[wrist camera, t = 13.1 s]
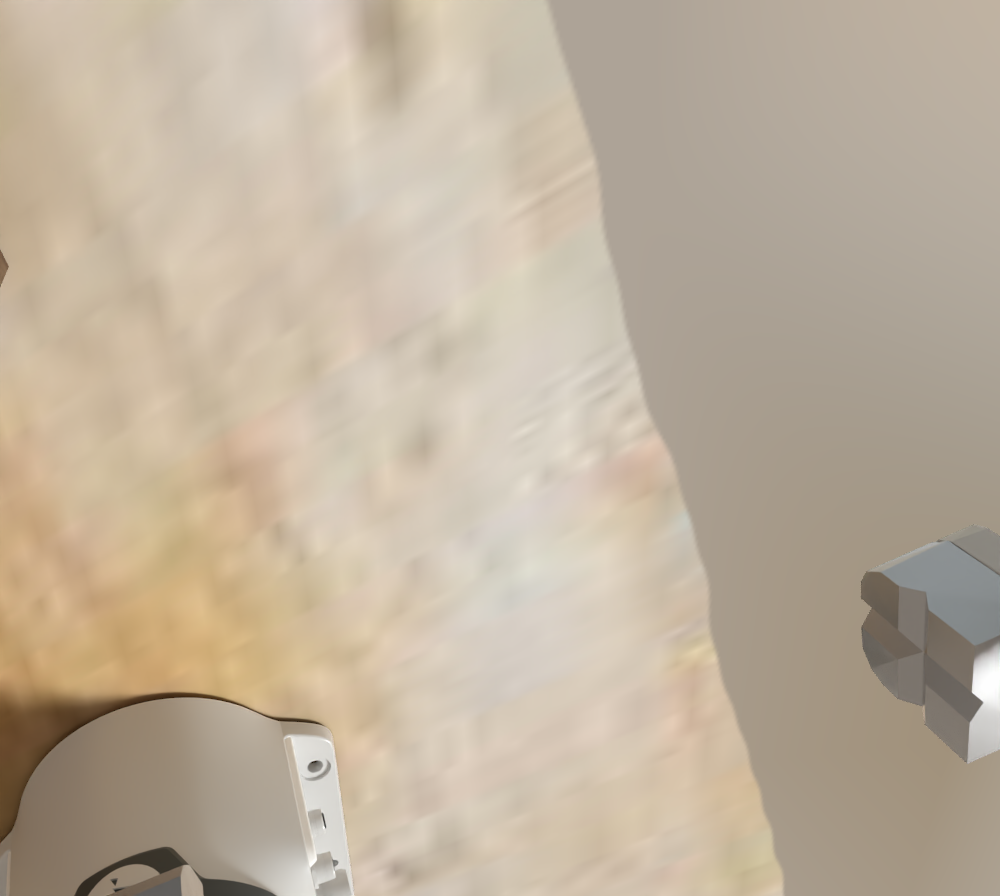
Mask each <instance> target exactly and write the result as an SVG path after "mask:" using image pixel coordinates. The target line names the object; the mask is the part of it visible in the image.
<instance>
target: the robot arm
mask: <svg viewBox="0 0 1000 896" xmlns="http://www.w3.org/2000/svg"><path fill="white" fill-rule="evenodd" d="M861 599H863V600H864V601H865V602H866V603H867V604H868V605H870V606H871V607H872V609H871V610H870V612H869V614H868V616H867V618H866V620H865V621H864V623H863V625H862V642H863V650H864V652H865V654H866V657H867V659H868V661H869V664H870V666H871V668H872V670H873V672H874V673H875V674H876V676H877V677H878V678H879V680H880V681H881V683H882V684H883V685H884V686H885V687H886V688H887V689H888V690H889V691H890V692H891V693H892V694H893V695H894V696H895V697H896V698H897V699H900V700H903V701H906V702H910V703H913V704H916V705H920V706H922V707H923V715H924V722H925V725H926V726H927V727H928V728H929V729H930V730H931V731H933V732H934V733H935V734H936V735H937V736H938V737H939V738H940V739H941V740H942V741H943V742H944V743H945V744H946V745H948V746H949V747H950V748H951V749H952V750H953V751H954V752H955V753H956V754H957V755H958V756H959V757H960V758H962V759H963V760H964V761H965V762H966V763H967V764H968V763H970V762H972V761H975V760H977V759H979V758H981V757H983V756H986V755H988V754H990V753H992V752H995V751H997V750H999V749H1000V536H999V535H998V534H996V533H995V532H993V531H991V530H990V529H988V528H986V527H983V526H978V525H971V526H969V527H966V528H964V529H962V530H960V531H957V532H955V533H953V534H950V535H948V536H946V537H944V538H941V539H939V540H937V541H936V542H932V543H929V544H927V545H925V546H922V547H920V548H918V549H916V550H913V551H911V552H909V553H907V554H904V555H902V556H900V557H898V558H896V559H893V560H891V561H889V562H887V563H884V564H882V565H880V566H877V567H875V568H873V569H871V570H868V571H867V572H866V573H865V575H864V577H863V579H862V581H861ZM316 760H317V762H315V763H311V762H312V761H316ZM0 896H354V887H353V879H352V872H351V864H350V857H349V850H348V843H347V835H346V828H345V821H344V814H343V806H342V799H341V792H340V785H339V777H338V770H337V763H336V756H335V748H334V741H333V736H332V733H331V731H330V730H329V729H328V728H326V727H325V726H322V725H319V724H314V723H305V722H283V721H277V720H273V719H270V718H267V717H265V716H263V715H260V714H258V713H256V712H254V711H251V710H249V709H247V708H244V707H242V706H239V705H236V704H232V703H229V702H224V701H220V700H213V699H206V698H168V699H160V700H153V701H148V702H143V703H139V704H135V705H131V706H128V707H125V708H122V709H119V710H116V711H113V712H111V713H108V714H106V715H104V716H101V717H99V718H97V719H95V720H93V721H91V722H90V723H88V724H86V725H84V726H82V727H81V728H79V729H78V730H76V731H75V732H73V733H72V734H70V735H69V736H68V737H66V738H65V739H64V740H62V741H61V742H60V743H59V744H58V745H57V746H55V747H54V748H53V749H52V750H51V751H50V752H49V753H48V754H47V755H46V757H45V758H44V759H43V760H42V761H41V762H40V764H39V765H38V766H37V768H36V769H35V771H34V772H33V774H32V775H31V777H30V779H29V781H28V783H27V785H26V787H25V789H24V792H23V795H22V798H21V802H20V807H19V811H18V815H17V819H16V822H15V825H14V827H13V829H12V831H11V832H10V833H9V834H8V835H7V836H6V838H5V839H4V840H3V841H2V842H1V843H0Z"/></svg>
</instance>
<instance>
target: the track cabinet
mask: <svg viewBox="0 0 1000 896" xmlns="http://www.w3.org/2000/svg"><path fill="white" fill-rule="evenodd" d="M8 267H9V266H8V264H7V262H6V260H5V258H4V256H3V254H2V252H1V250H0V286H1V284H2V281H3V279H4V277H5V274H6V272H7V270H8Z"/></svg>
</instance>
